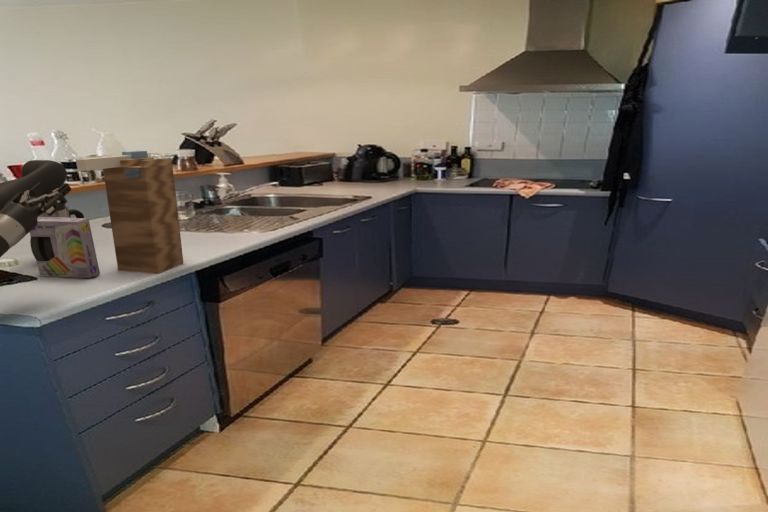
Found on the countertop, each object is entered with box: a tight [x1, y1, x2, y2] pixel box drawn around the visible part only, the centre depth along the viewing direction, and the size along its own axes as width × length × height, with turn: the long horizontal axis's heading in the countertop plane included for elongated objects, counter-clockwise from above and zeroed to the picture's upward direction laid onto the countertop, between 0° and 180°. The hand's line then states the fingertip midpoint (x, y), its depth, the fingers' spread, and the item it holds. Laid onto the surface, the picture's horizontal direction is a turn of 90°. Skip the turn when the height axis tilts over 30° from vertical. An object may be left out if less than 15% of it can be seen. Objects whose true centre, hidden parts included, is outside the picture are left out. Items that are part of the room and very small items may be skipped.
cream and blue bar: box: [75, 150, 150, 172], centre depth 149 cm, size 24×4×4 cm, turn 163°
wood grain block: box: [102, 157, 184, 275], centre depth 157 cm, size 13×15×34 cm
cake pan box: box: [29, 217, 101, 279], centre depth 151 cm, size 19×5×18 cm, turn 77°
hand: (55, 185), depth 131 cm, fingers open, 8 cm apart
